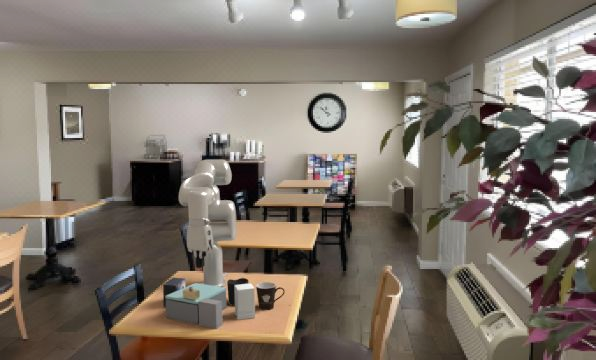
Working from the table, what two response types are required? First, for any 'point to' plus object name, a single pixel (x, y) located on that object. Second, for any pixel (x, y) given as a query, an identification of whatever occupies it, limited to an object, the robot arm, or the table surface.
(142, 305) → the table surface
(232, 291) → the pen holder
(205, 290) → the lid
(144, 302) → the table surface
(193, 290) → the latch bolt
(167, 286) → the small box
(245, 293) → the supplement box
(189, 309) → the storage box
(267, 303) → the coffee mug
